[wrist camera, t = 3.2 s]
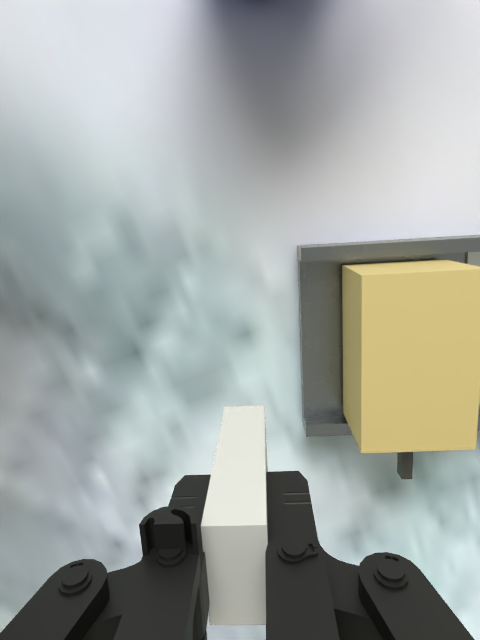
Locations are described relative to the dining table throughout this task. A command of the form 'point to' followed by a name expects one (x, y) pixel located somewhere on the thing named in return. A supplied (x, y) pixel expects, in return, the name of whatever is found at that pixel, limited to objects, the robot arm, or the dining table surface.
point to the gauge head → (411, 356)
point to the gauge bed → (327, 315)
